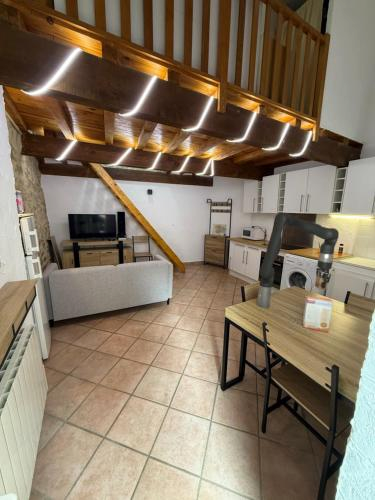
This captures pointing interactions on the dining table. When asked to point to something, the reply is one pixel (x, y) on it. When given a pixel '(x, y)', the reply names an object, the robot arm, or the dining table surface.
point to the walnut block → (320, 283)
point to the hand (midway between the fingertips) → (321, 286)
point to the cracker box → (317, 313)
